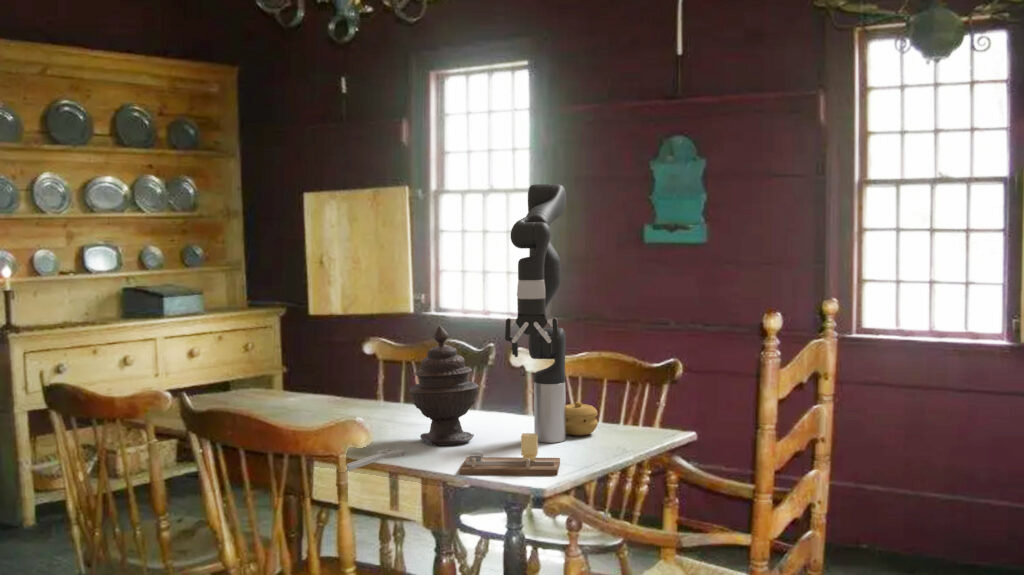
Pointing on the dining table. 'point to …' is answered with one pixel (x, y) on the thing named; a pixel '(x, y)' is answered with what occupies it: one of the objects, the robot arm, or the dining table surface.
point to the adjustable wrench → (374, 458)
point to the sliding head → (529, 446)
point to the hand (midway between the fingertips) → (532, 356)
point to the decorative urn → (444, 393)
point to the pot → (580, 419)
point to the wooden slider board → (508, 465)
